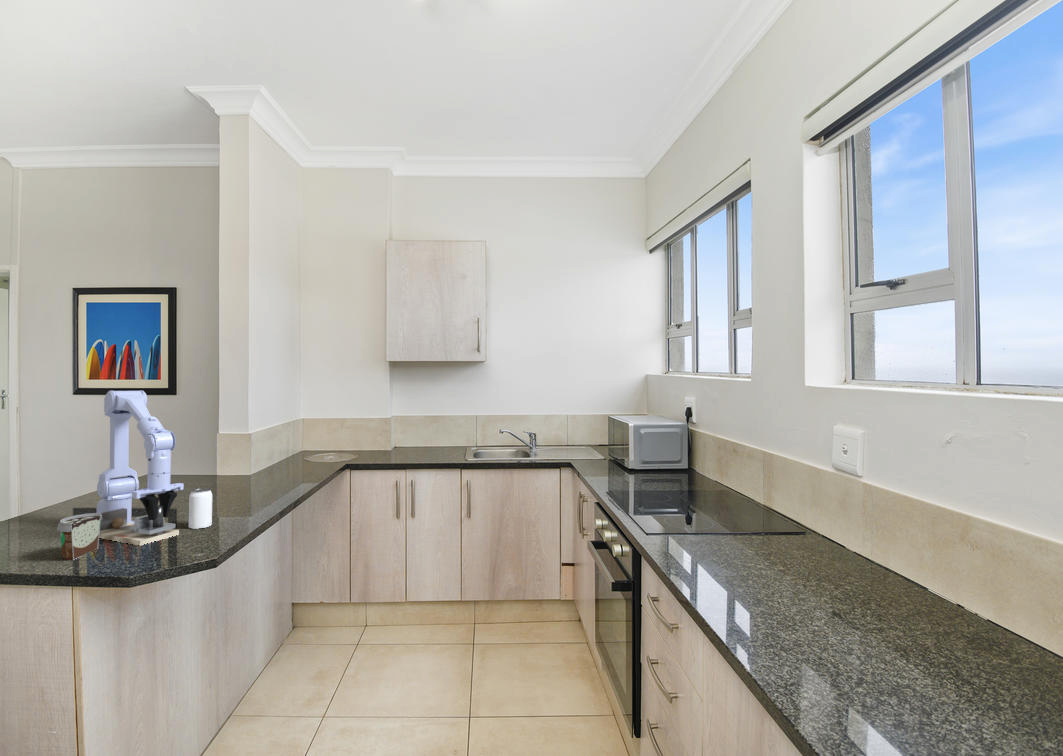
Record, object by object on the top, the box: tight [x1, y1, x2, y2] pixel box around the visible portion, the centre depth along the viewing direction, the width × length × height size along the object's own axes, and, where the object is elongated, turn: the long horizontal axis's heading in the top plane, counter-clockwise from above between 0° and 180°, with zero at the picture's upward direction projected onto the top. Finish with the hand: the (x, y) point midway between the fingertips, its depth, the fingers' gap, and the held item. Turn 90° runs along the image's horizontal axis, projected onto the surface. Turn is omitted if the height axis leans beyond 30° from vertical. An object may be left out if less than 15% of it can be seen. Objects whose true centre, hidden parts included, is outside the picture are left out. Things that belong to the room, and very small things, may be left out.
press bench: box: [99, 508, 180, 547], centre depth 167 cm, size 22×12×6 cm, turn 71°
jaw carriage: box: [133, 504, 177, 535], centre depth 165 cm, size 6×8×7 cm
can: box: [188, 487, 213, 530], centre depth 179 cm, size 6×6×12 cm
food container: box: [56, 512, 102, 561], centre depth 149 cm, size 12×6×10 cm, turn 5°
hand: (158, 518), depth 164 cm, fingers open, 3 cm apart
